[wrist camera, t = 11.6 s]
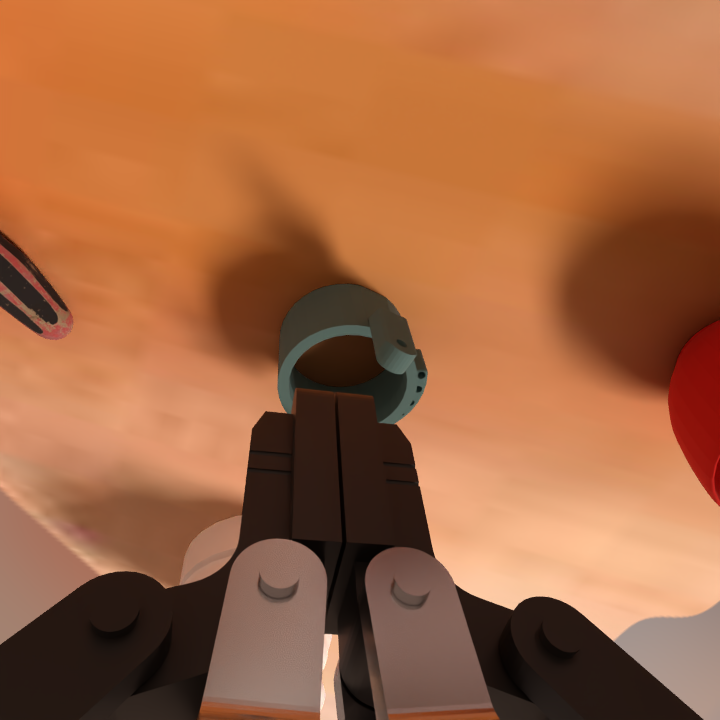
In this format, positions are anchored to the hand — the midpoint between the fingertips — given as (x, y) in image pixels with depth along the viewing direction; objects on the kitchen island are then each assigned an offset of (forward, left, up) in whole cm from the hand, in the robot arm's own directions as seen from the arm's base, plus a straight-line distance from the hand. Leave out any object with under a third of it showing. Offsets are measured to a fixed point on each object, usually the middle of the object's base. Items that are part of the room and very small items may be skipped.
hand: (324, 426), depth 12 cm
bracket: (+9, +10, -25) cm, 28 cm away
